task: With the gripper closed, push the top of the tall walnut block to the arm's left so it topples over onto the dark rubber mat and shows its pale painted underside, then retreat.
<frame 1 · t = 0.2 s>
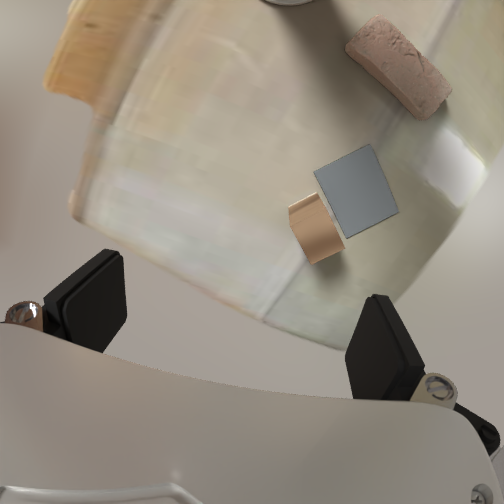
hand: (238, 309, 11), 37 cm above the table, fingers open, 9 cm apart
block: (311, 215, 47), on the table
mat: (358, 191, 44), on the table
brick: (395, 69, 36), on the table
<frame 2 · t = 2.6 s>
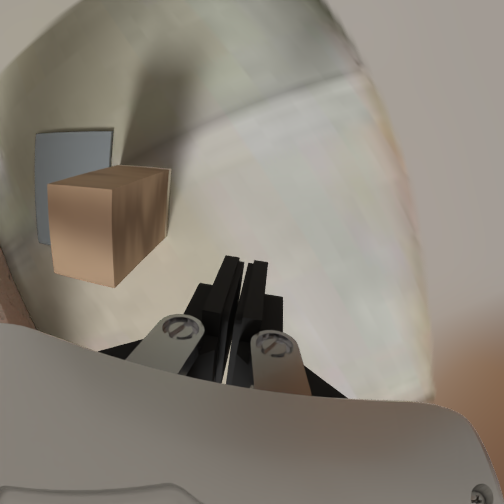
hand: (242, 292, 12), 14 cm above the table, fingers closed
block: (142, 200, 25), on the table
mat: (69, 192, 25), on the table
brick: (5, 288, 31), on the table
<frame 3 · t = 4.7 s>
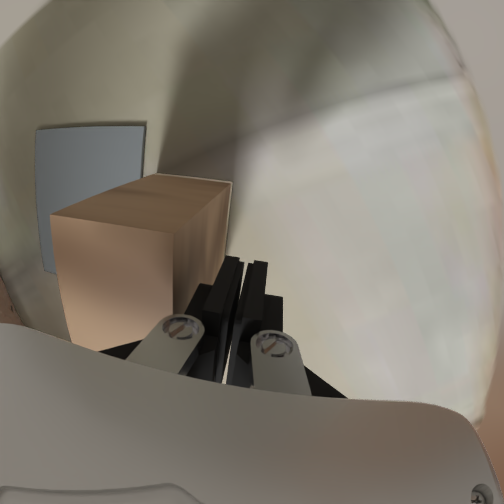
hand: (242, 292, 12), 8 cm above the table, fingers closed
block: (189, 222, 19), on the table, touching gripper
mat: (82, 208, 19), on the table
brick: (6, 317, 26), on the table
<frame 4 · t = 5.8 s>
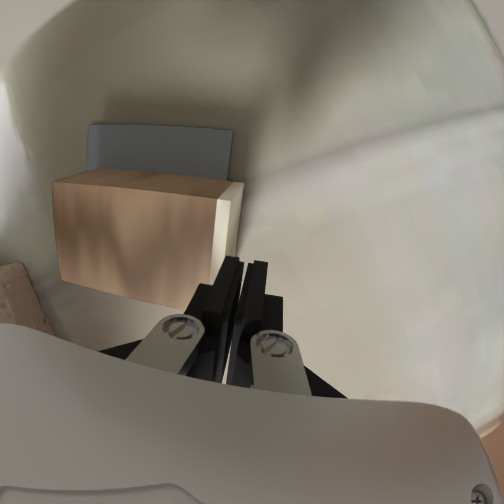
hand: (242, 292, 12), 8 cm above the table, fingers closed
block: (231, 244, 16), point 3 cm above the table, tilted 90°, touching mat
mat: (148, 215, 19), on the table
brick: (35, 329, 26), on the table
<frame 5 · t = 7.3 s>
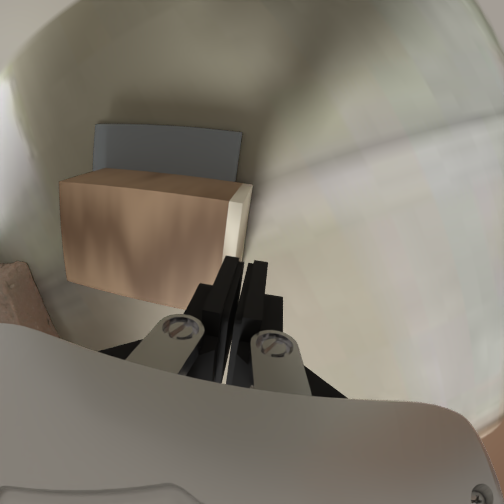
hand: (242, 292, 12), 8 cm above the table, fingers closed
block: (240, 246, 16), point 3 cm above the table, tilted 90°, touching mat
mat: (155, 216, 19), on the table
brick: (37, 328, 26), on the table
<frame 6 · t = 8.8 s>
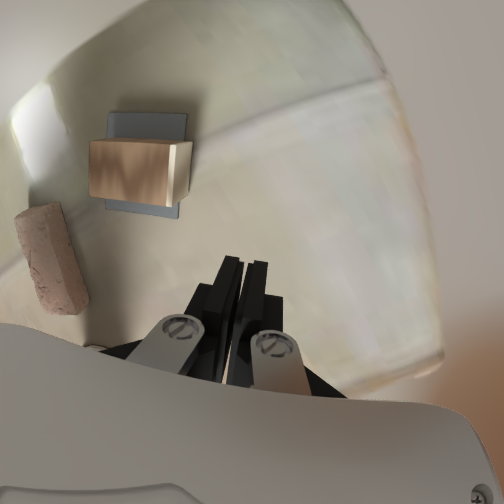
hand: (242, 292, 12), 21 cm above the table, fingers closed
block: (182, 172, 29), point 3 cm above the table, tilted 90°, touching mat
mat: (141, 163, 32), on the table
brick: (59, 254, 39), on the table
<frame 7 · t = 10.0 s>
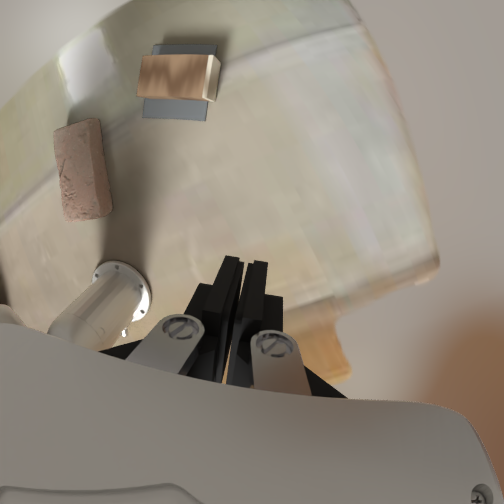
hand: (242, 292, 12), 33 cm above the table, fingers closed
block: (214, 79, 35), point 3 cm above the table, tilted 90°, touching mat
mat: (178, 80, 38), on the table
brick: (88, 168, 45), on the table
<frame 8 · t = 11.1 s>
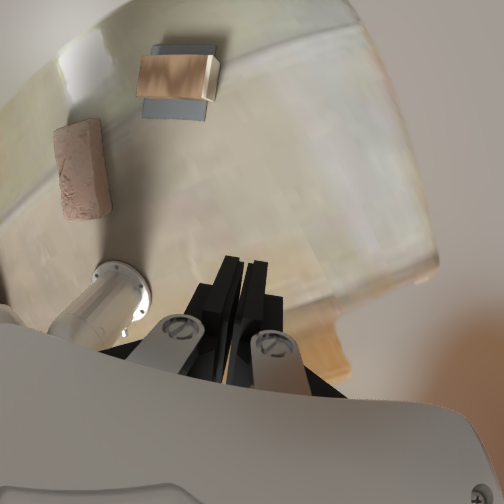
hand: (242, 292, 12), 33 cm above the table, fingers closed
block: (213, 79, 35), point 3 cm above the table, tilted 90°, touching mat
mat: (177, 80, 38), on the table
brick: (88, 168, 45), on the table
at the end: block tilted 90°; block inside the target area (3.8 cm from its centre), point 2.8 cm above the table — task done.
